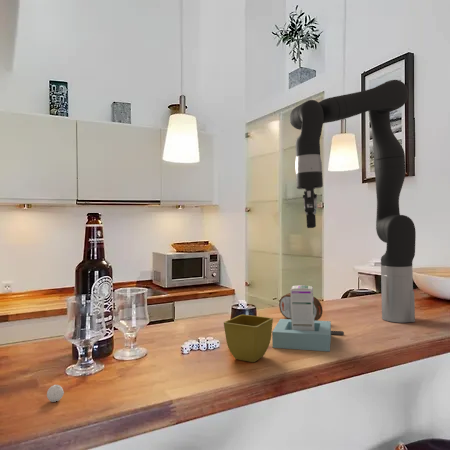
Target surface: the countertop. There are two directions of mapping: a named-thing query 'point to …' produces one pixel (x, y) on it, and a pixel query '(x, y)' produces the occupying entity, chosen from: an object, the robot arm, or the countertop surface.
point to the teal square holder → (302, 336)
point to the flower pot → (248, 336)
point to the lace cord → (337, 332)
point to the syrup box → (302, 308)
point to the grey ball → (55, 393)
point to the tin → (286, 307)
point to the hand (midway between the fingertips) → (311, 227)
